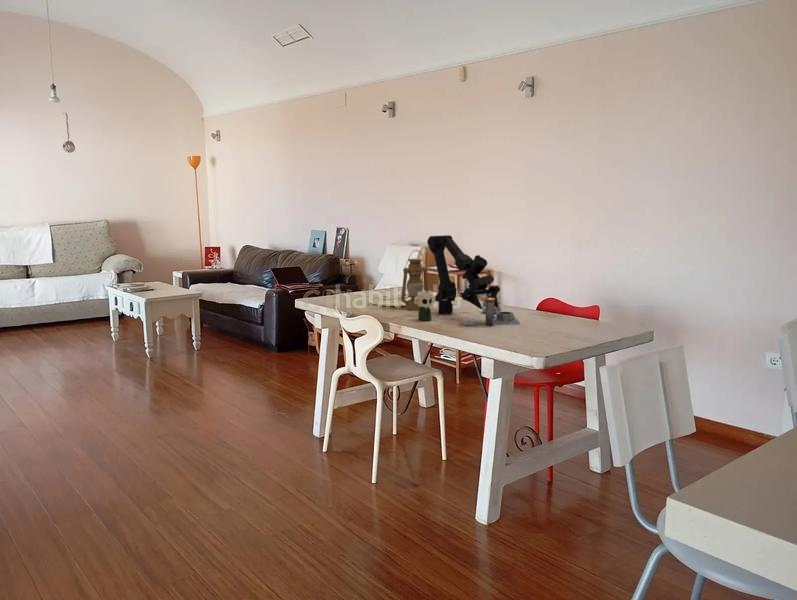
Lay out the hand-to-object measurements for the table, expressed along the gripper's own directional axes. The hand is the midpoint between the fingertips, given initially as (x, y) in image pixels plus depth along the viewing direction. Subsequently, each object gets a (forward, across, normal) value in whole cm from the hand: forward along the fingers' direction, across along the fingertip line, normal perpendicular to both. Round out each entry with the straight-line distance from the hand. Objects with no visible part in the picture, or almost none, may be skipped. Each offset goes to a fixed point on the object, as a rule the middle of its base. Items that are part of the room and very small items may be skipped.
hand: (489, 307), depth 288 cm
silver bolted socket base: (+4, +12, +8) cm, 14 cm away
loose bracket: (0, -7, +11) cm, 13 cm away
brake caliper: (-11, +21, +23) cm, 33 cm away
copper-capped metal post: (+6, 0, +6) cm, 8 cm away
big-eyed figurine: (-12, -18, +23) cm, 32 cm away
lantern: (-32, -5, +43) cm, 53 cm away
